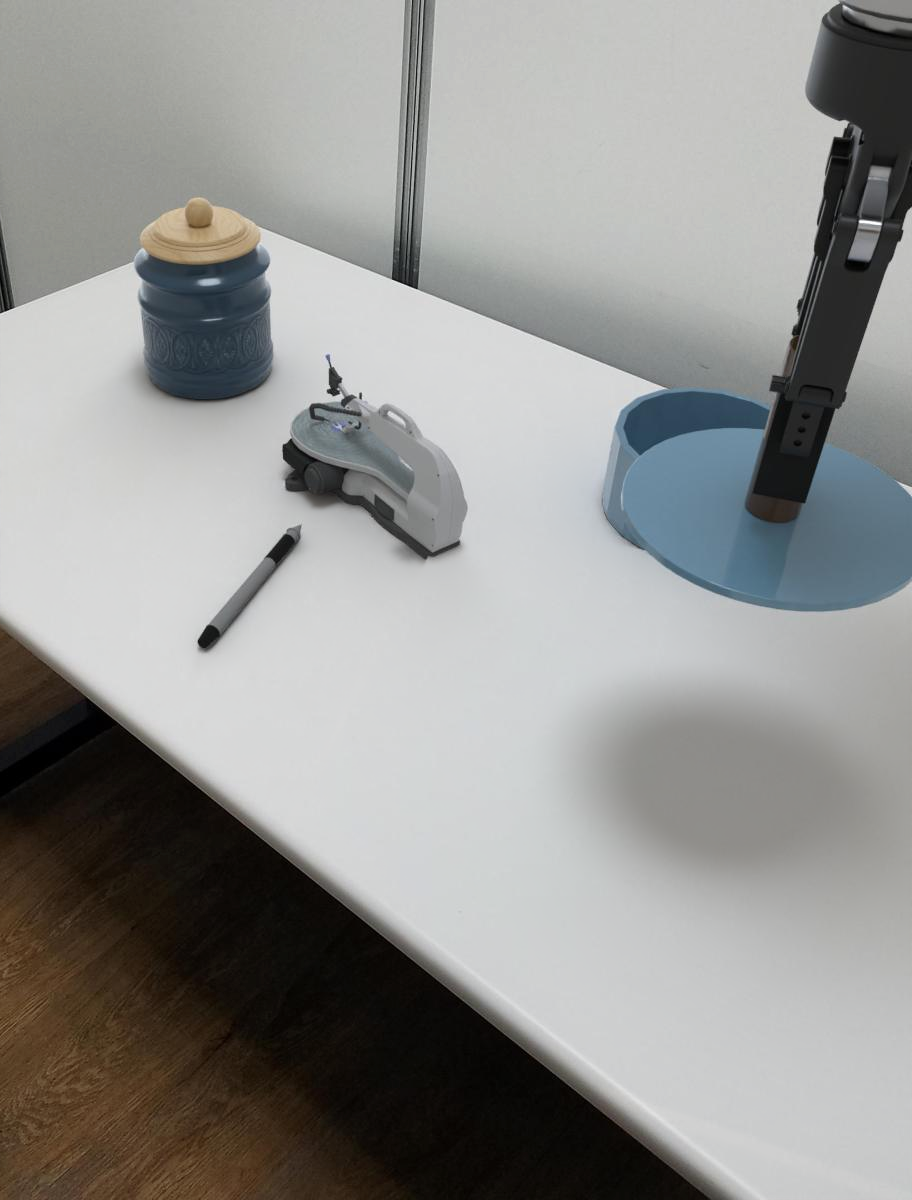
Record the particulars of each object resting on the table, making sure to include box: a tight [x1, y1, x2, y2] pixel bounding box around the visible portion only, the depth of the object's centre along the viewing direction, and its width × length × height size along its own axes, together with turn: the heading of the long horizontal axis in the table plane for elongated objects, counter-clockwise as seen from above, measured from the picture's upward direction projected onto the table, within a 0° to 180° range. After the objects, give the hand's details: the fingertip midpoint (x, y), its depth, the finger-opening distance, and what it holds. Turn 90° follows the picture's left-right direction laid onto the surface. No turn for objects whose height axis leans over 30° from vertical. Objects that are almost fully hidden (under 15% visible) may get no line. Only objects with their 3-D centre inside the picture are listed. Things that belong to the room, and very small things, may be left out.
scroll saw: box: [281, 353, 469, 560], centre depth 100 cm, size 20×11×12 cm
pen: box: [196, 523, 303, 650], centre depth 94 cm, size 1×16×1 cm, turn 154°
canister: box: [133, 197, 274, 400], centre depth 114 cm, size 13×13×18 cm
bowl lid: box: [621, 335, 912, 613], centre depth 63 cm, size 16×16×11 cm
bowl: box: [601, 386, 771, 551], centre depth 99 cm, size 15×16×8 cm
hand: (781, 475), depth 65 cm, fingers closed on bowl lid, 3 cm apart
